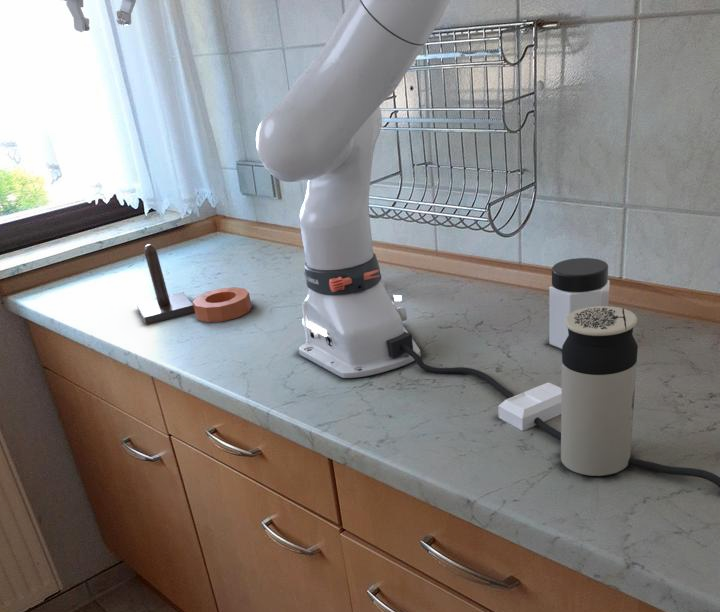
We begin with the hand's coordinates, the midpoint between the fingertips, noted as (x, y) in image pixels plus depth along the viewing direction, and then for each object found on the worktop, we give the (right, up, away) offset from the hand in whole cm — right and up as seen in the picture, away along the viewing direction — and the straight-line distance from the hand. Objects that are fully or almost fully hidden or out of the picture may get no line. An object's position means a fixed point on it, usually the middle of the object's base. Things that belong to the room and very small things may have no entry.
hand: (103, 27), depth 126 cm
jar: (+75, -51, -2) cm, 91 cm away
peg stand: (+1, -38, +35) cm, 52 cm away
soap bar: (+65, -63, -20) cm, 93 cm away
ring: (+14, -39, +31) cm, 51 cm away
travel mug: (+69, -70, -31) cm, 103 cm away
